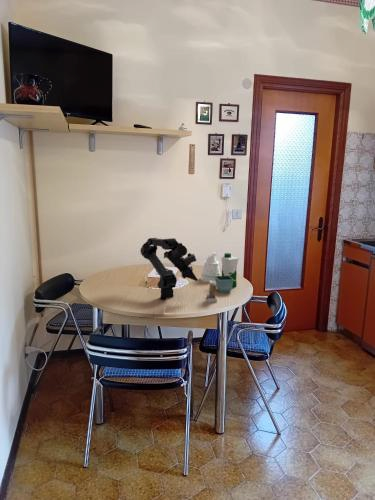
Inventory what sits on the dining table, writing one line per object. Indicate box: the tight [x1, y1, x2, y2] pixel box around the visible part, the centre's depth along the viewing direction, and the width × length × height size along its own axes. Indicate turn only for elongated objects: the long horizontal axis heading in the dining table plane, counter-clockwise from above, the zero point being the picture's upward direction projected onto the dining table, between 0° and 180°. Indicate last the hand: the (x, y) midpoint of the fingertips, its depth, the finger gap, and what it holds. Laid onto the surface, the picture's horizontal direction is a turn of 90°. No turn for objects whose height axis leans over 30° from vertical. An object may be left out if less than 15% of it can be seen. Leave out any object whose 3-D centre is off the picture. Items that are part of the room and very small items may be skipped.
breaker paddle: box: [208, 281, 217, 298], centre depth 203 cm, size 3×5×10 cm, turn 2°
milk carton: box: [220, 252, 239, 288], centre depth 233 cm, size 9×9×20 cm
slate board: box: [206, 293, 218, 303], centre depth 205 cm, size 17×10×3 cm, turn 92°
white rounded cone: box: [200, 252, 222, 283], centre depth 247 cm, size 13×13×18 cm
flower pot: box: [215, 275, 233, 293], centre depth 221 cm, size 9×9×9 cm
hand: (197, 280), depth 202 cm, fingers closed
